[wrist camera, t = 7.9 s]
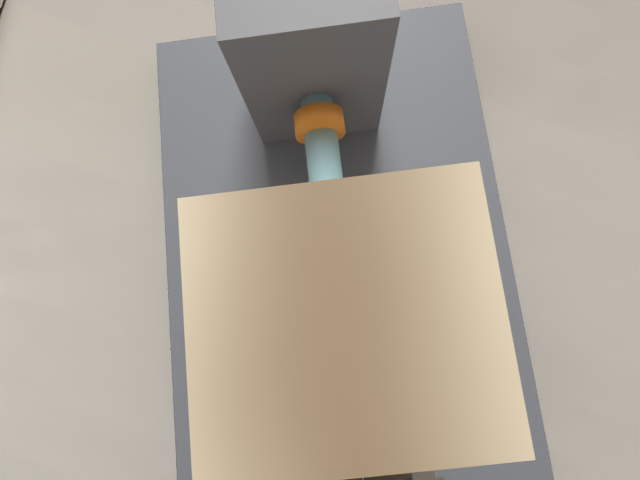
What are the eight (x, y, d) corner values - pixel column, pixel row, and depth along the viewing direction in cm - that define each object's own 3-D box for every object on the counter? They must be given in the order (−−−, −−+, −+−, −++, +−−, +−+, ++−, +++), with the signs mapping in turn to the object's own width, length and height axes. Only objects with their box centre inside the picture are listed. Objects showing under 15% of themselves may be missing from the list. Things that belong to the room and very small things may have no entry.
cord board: (205, 806, 15) (56, 1346, 7) (166, 59, 21) (56, -104, 13) (597, 775, 15) (894, 1310, 7) (454, 20, 20) (528, -173, 12)
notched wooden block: (292, 375, 16) (193, 494, 6) (282, 272, 17) (177, 198, 6) (405, 362, 16) (535, 459, 5) (391, 260, 17) (479, 161, 6)
